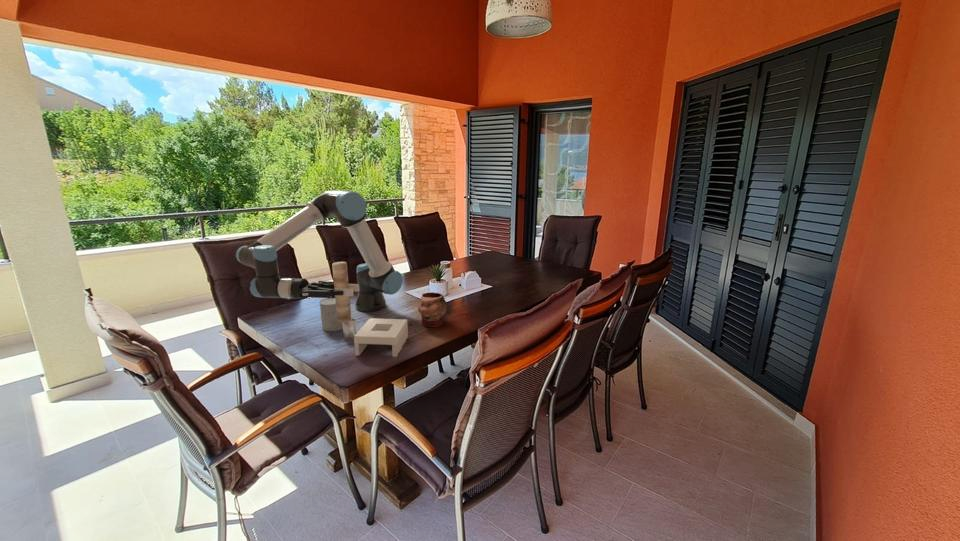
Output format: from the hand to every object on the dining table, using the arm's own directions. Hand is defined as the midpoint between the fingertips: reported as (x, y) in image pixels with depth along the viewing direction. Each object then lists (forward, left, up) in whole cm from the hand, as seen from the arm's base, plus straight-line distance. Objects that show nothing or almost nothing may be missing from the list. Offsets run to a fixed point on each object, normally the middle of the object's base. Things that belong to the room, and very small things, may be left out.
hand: (355, 290), depth 140 cm
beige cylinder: (-25, -22, -26) cm, 42 cm away
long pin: (0, -5, -12) cm, 13 cm away
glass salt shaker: (-14, -10, -26) cm, 31 cm away
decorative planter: (-34, +22, -26) cm, 48 cm away
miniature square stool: (-8, +6, -26) cm, 28 cm away
